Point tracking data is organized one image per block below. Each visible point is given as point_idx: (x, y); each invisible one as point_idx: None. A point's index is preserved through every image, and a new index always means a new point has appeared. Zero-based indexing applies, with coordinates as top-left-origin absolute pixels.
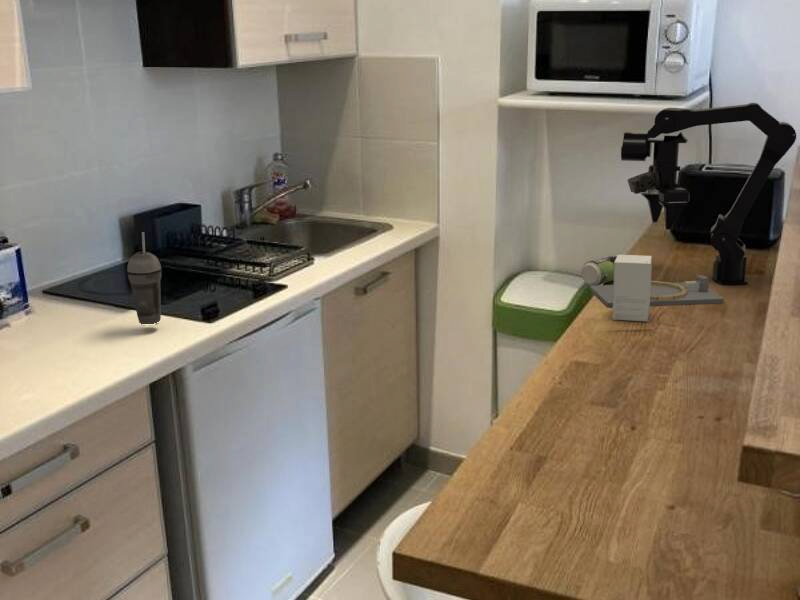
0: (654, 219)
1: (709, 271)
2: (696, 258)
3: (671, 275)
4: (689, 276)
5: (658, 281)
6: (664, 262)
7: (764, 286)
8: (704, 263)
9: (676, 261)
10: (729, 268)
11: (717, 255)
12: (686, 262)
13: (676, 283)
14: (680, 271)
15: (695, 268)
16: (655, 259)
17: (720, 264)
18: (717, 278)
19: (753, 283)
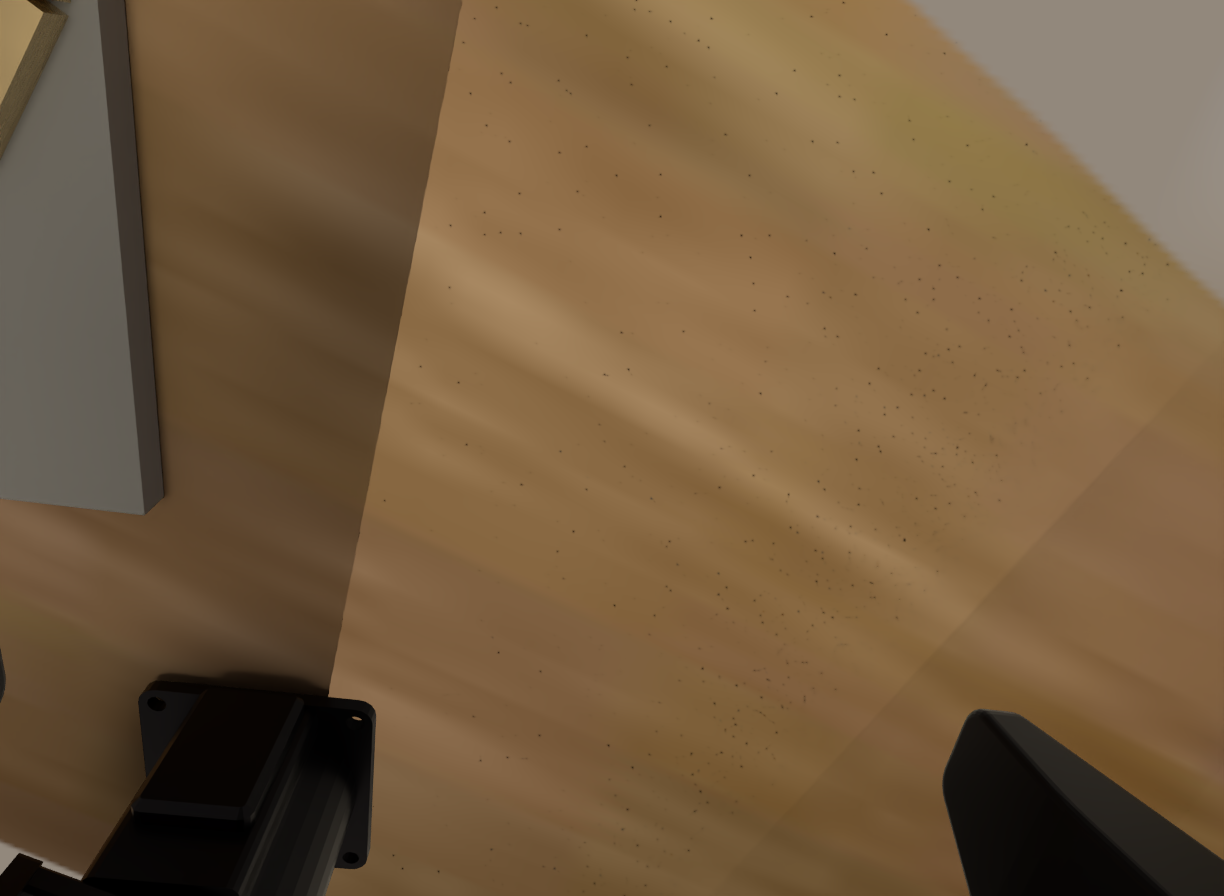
0: (991, 788)
1: (623, 789)
2: None
3: (588, 475)
4: (511, 594)
5: (10, 72)
6: (1044, 634)
7: None
8: (864, 861)
9: None
10: (109, 836)
11: (215, 893)
12: None
13: (86, 301)
14: (699, 608)
15: (748, 748)
16: (1180, 617)
17: (134, 815)
18: (197, 699)
19: None
